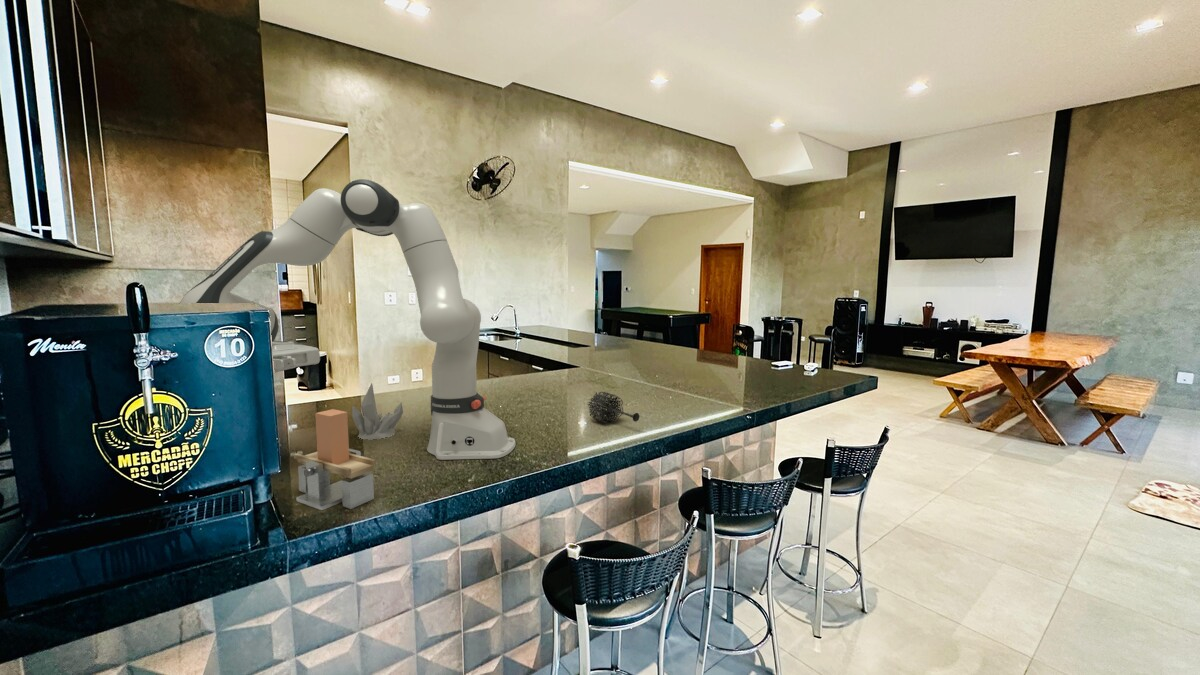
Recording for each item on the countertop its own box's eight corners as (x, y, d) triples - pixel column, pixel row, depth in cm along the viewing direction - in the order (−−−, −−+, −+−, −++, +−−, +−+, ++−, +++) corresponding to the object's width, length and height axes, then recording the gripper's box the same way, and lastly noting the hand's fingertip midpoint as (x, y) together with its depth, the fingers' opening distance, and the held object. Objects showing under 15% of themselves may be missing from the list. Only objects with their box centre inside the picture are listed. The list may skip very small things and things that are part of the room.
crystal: (406, 435, 135) (405, 383, 133) (354, 443, 128) (351, 388, 126) (401, 426, 143) (399, 377, 142) (351, 433, 136) (349, 381, 135)
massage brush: (624, 435, 137) (624, 403, 136) (578, 418, 154) (578, 390, 153) (647, 430, 143) (648, 399, 142) (600, 414, 160) (601, 386, 159)
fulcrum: (282, 497, 95) (280, 458, 94) (337, 477, 105) (335, 442, 104) (334, 516, 87) (332, 474, 87) (387, 492, 97) (386, 455, 97)
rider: (317, 462, 95) (315, 413, 94) (335, 456, 98) (332, 409, 97) (332, 466, 93) (329, 416, 92) (349, 460, 96) (347, 412, 95)
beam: (293, 463, 97) (293, 454, 97) (323, 454, 102) (323, 445, 102) (347, 480, 89) (346, 469, 89) (376, 469, 94) (376, 459, 94)
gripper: (194, 351, 97) (230, 355, 90) (297, 340, 115) (333, 343, 108) (197, 381, 98) (233, 387, 91) (299, 366, 116) (335, 370, 109)
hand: (288, 363), depth 100 cm, fingers closed
